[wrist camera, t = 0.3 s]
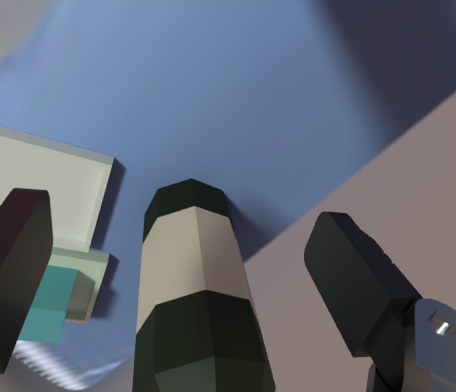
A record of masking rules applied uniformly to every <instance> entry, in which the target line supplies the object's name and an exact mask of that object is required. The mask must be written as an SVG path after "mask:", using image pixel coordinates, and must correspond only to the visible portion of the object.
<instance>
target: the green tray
mask: <svg viewBox="0 0 456 392" xmlns="http://www.w3.org/2000/svg"><path fill="white" fill-rule="evenodd" d="M108 258H109V253H106V252H100V251H94V250H89V251H88V253H87V252H81V251H76V250H70V249H64V248H58V247H53V248H52V253H51V257H50V260H49V263H48V265H52V266H59V267H66V268H72V269H78V271H77V275H76V278H75V282H74V286H73V290H72V294H71V297H70V301H69V305H68V309H67V312H66V316H65V320H64V321H68V322H78V323H88V322H89V319H90V316H91V313H92V310H93V307H94V304H95V301H96V298H97V294H98V291H99V288H100V285H101V282H102V279H103V276H104V273H105V270H106V267H107V264H108Z"/></svg>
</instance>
